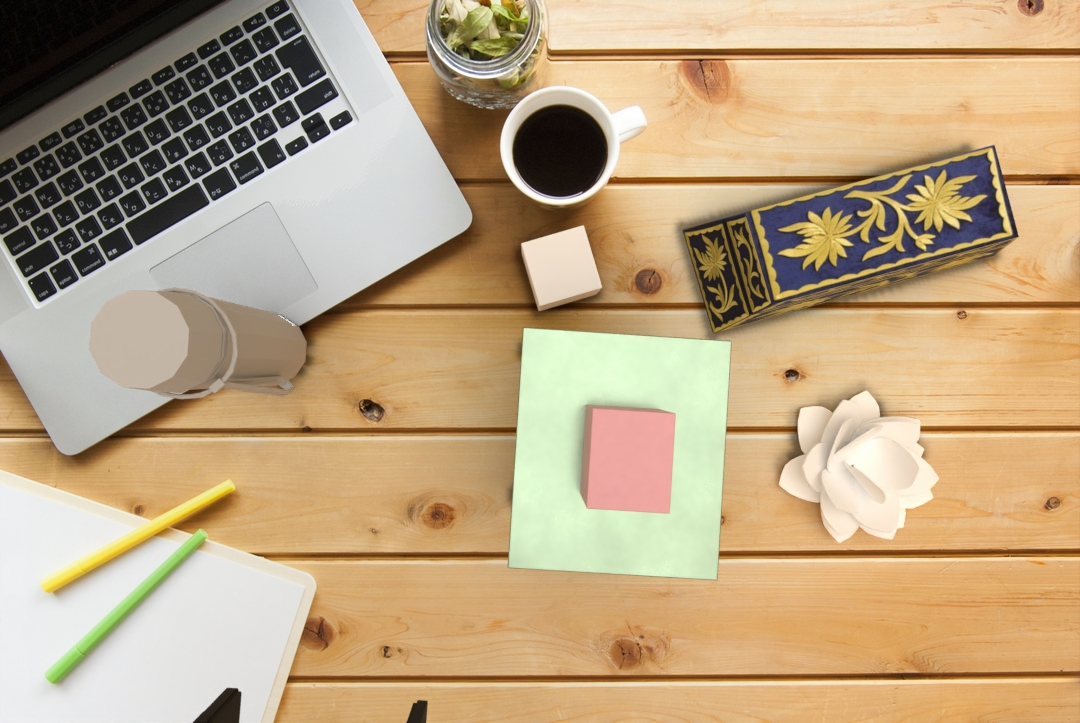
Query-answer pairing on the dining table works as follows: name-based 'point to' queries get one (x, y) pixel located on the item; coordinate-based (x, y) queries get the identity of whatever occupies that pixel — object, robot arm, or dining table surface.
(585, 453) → the pink box
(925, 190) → the decorative box
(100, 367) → the water bottle
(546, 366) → the pale green block
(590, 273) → the pale peach cube
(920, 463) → the lotus flower
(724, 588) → the dining table surface
